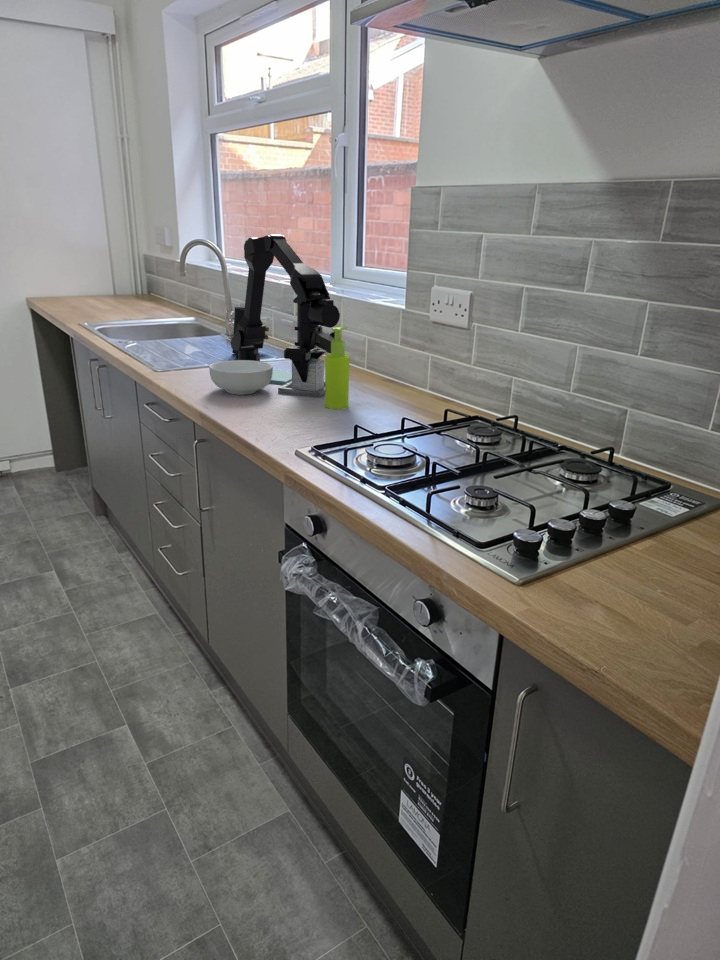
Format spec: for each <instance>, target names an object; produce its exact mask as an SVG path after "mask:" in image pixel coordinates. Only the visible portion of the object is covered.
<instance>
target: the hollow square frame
mask: <svg viewBox="0 0 720 960" xmlns="http://www.w3.org/2000/svg"><path fill="white" fill-rule="evenodd" d="M277 389H278V391H277V393H278V394H284V395H292V396H300V397H301V396H303V397H311V398H322V397H323V396H324V397H325V381H324V388H323V389H321V390H319V391H310V390H302V389H293V388H292V381H290V382H289V383H287V384H285V385H280V386H278V388H277Z"/></svg>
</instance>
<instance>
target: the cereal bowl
mask: <svg viewBox="0 0 720 960" xmlns="http://www.w3.org/2000/svg"><path fill="white" fill-rule="evenodd" d="M208 368H209V376H210V377H209V378H210V379H211V381H212V383H214V385H215V386H216V387H218V388H221V389H223V390H225V391H226V392H227V393H229V394H232V395H251V394H254V393H256V392H257V391H258V390H262V389H263V388H266V387H267V386H268V385H269V384H270V383H269V382H270V381H271V378H272V373H273V370H274V368H273V365H272V364H271V363H268V362H264V361H261V360H260V361H251V360H236V359H235V360H223V361H216V362H213V363H211V364H209V367H208Z"/></svg>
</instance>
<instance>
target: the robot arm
mask: <svg viewBox="0 0 720 960" xmlns="http://www.w3.org/2000/svg"><path fill="white" fill-rule="evenodd" d="M243 253H244V255H243V256H244V261H245V262H246V265H247V267H248V272H247V282H246V283H247V284H246V292H245V302H244V308H245V309H244V315H243V317H242V318H241V319H240V321H239V322H238V324H237V329H236V332H235V334H234V336H232V338H231V339H230V342H229V343H230V347H231V348H230V349H232V350H233V349H234V350H236V354H235V358H236V359H235V360H251V361H260V362H261V354H260V353H259V349H260V350H261V349H263V348H264V344H265V343H264V342H265V340H266V339H265V334H266V332H267V331H266V327H265V326H266V325H264V324H263V322H262V320H261V315H262V307H263V299H264V291H265V282H266V274H267V271H268V270H269V268H270V267H271V265H272V264H273V262H274V258H275V259H276V260H277V261H278V263H279V264H280V266H281V267H282V268H283V269H284V270H285V272H286V273H287V275H288V276H289V278H290V280H289V281H290V282H289V286H291V288H292V290H293V291H294V293H295V295H296V297H295V298H294V299H293V300H292V302H293V304H294V303H295V304H297V305H296V306H297V308H296V315H297V316H296V317H297V318H296V319H297V320H296V321H297V322H296V324H297V325H295V326H294V331H297V335H296V337H297V339H296V341H294V345H291V346H289V347H288V346H287V347H286V348H285V349H284V350H283V359H286V360H291V363H292V362H293V364H294V366H295V367H296V369H297V371H298V374H299V376H300V378H301V380H302V382H306V381H307V375H308V367H309V363H310V362H311V361H312V360H313V359H320V358H321V357H323V356H324V355H325V354H326V353H328V354H331V341H333V340H335V331H332V332H331V333H330V334H329V333H328V332H327V333H326V332H324V331H323V327H325V328H329V329H331V328H332V329H333V328H335V327H336V326H337V325H338V324H339V321H340V317H341V313H340V311H339V308H338V307H337V306H336V305H335V304H334V299H331V297H330V292H329V291H328V289H327V286H326V284H325V281H324V279H323V276H322V275H321V274H320V273H319V271H317V269H315V268H313V267H311V266H308V265H307V264H305V263H304V262H303V260H302V259H301V258H300V256H299V255H297V253H296V252H295V250H294V249H293V248H292V247H291V245H290V244H289V243H288V242H287V239H286V237H285V235H282V234H275V233H274V234H271V233H270V234H268V235H265V236H261V237H249V238H248V239H246V240H245V241H244V244H243Z"/></svg>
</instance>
